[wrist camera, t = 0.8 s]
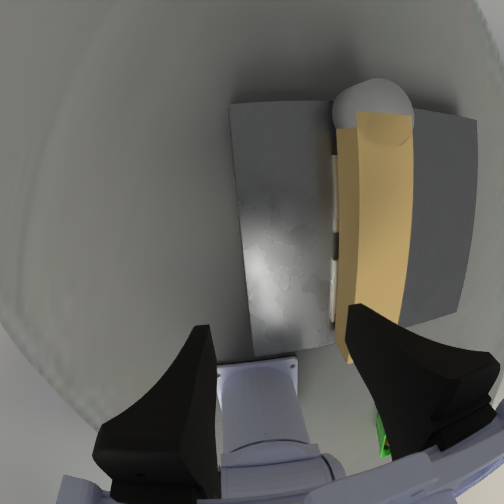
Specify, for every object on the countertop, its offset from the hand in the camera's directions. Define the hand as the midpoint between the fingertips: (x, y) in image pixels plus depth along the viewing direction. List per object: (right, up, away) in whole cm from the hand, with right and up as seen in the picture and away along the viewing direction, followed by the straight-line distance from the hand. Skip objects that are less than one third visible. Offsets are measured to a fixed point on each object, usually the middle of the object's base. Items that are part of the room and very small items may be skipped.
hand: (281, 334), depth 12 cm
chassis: (+8, +6, +10) cm, 14 cm away
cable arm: (+6, +5, +6) cm, 10 cm away
